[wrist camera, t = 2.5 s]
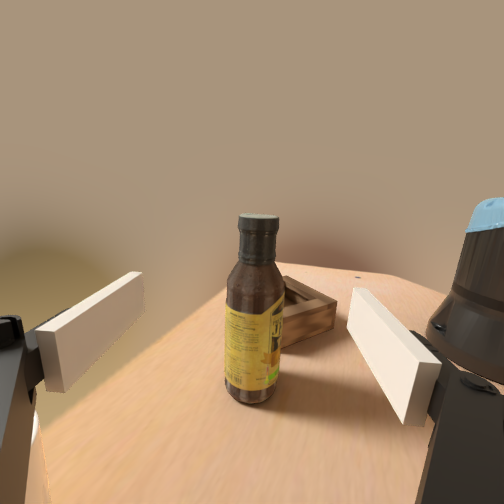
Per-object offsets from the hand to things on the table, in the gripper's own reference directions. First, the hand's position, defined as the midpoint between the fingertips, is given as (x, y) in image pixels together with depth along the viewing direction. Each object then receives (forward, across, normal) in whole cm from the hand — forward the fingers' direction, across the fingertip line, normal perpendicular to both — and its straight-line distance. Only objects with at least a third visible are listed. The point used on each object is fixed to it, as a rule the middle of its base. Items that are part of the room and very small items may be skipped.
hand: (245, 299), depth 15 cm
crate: (+25, +5, -16) cm, 30 cm away
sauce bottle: (+10, 0, -16) cm, 19 cm away
